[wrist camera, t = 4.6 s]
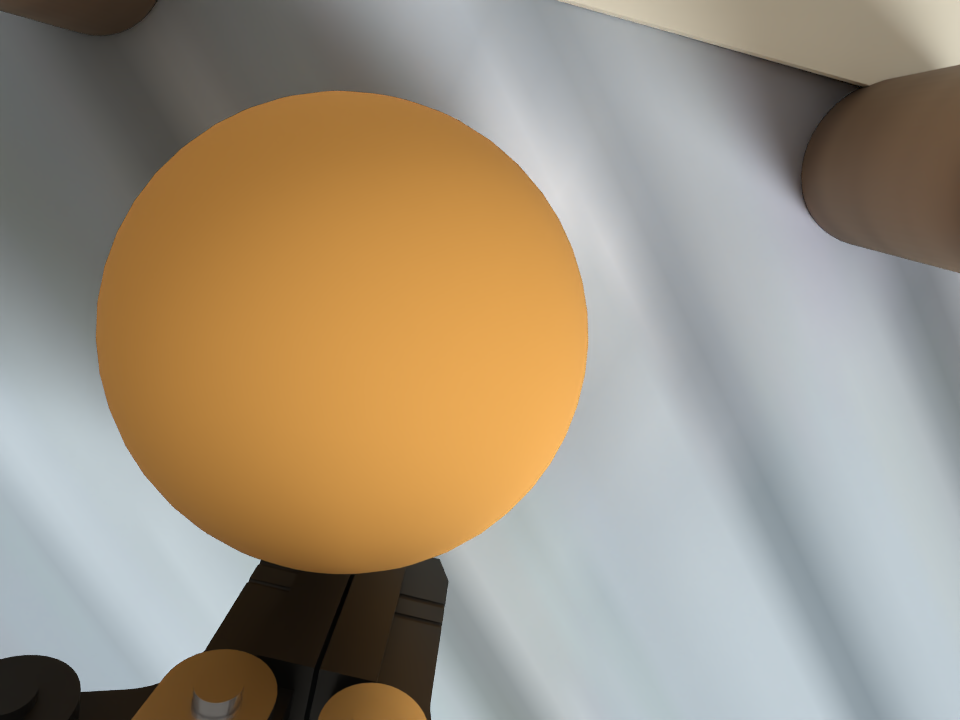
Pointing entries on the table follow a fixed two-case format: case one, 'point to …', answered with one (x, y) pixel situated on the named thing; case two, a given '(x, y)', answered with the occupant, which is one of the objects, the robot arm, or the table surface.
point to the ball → (342, 332)
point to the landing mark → (812, 31)
